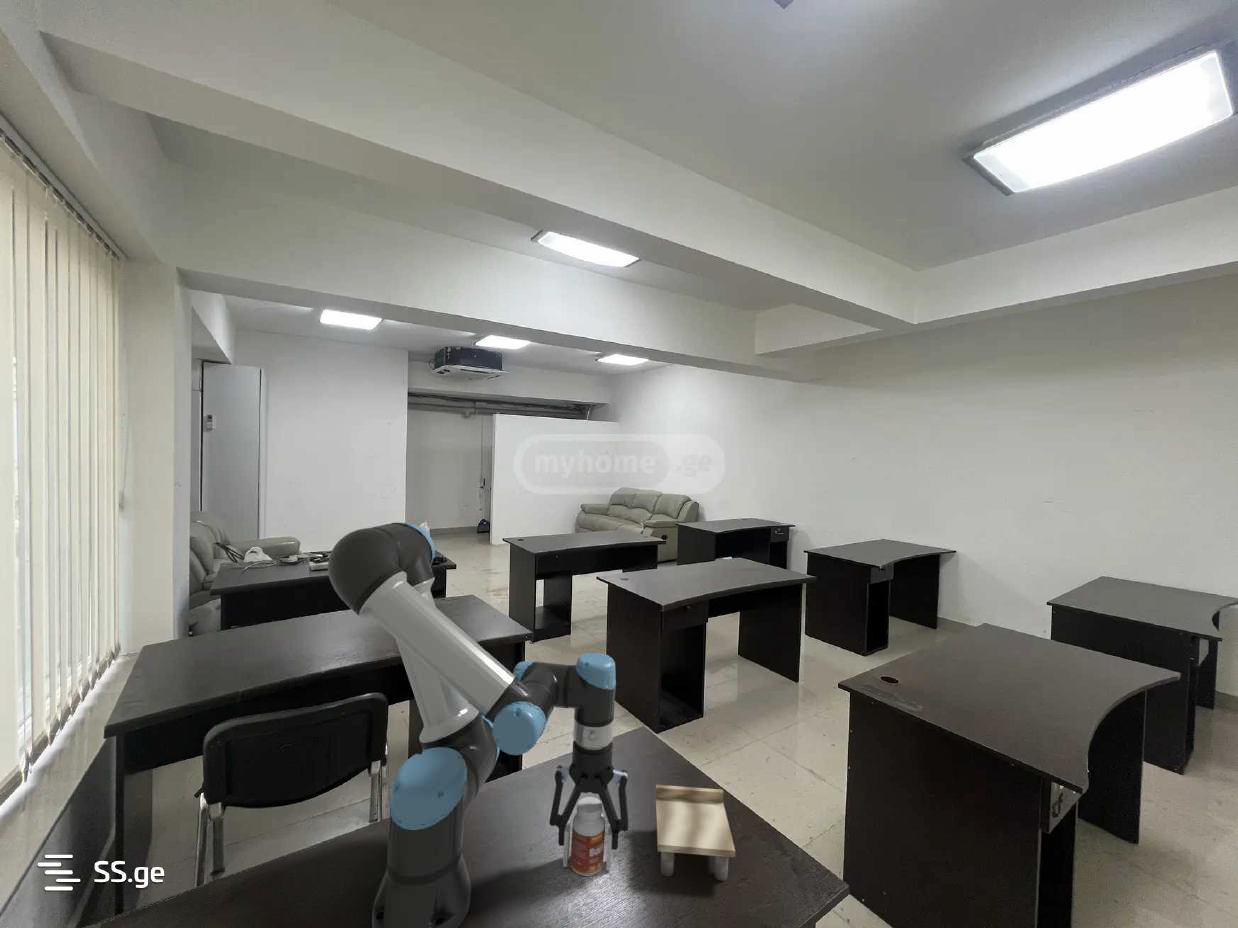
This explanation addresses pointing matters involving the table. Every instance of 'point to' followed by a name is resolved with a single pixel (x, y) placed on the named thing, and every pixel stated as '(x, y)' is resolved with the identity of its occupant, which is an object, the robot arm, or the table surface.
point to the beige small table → (692, 826)
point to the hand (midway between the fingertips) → (587, 862)
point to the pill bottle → (588, 837)
